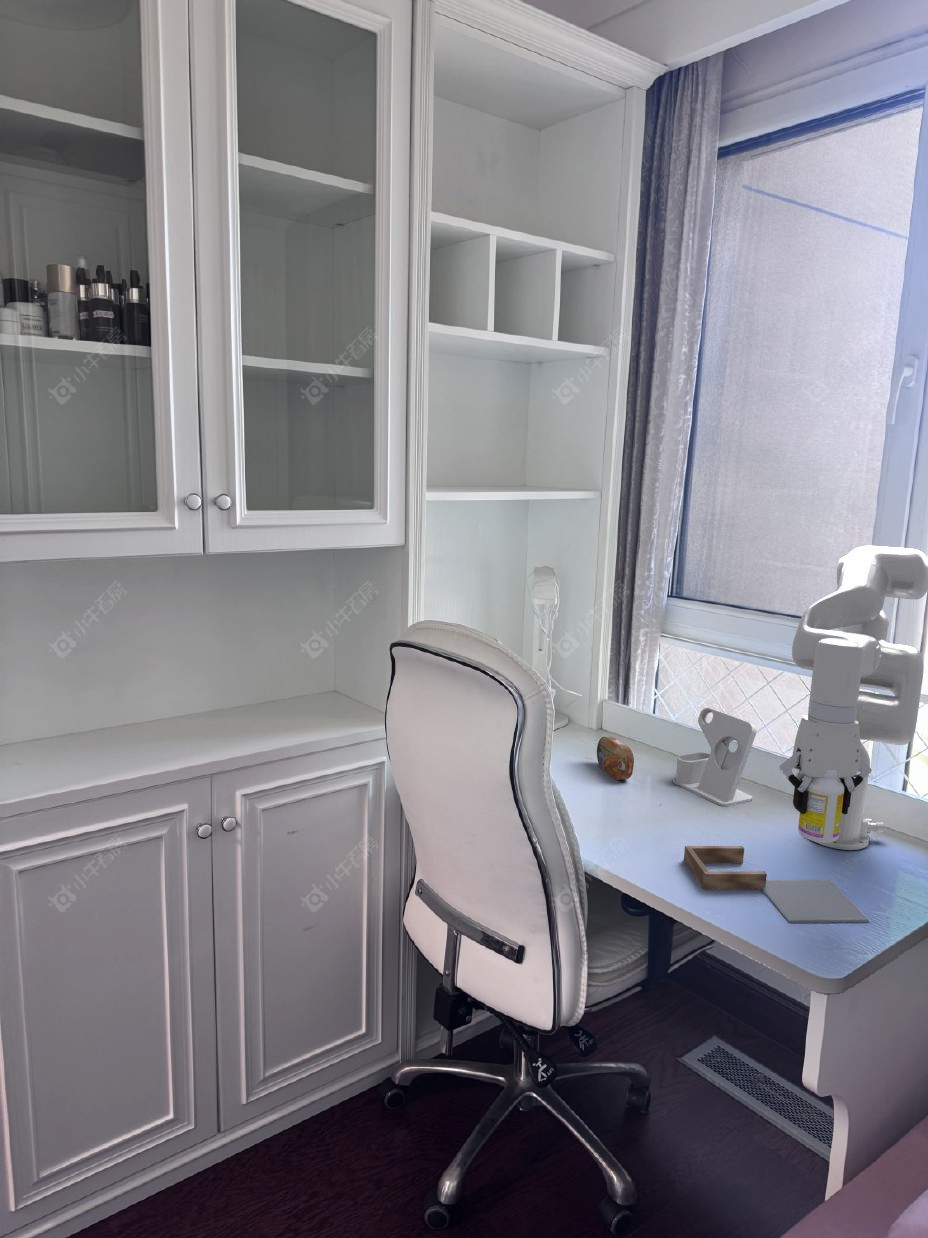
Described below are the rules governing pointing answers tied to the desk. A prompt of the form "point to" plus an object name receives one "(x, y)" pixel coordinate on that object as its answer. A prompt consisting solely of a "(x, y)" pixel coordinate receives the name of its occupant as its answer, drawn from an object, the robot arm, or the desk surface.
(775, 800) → the desk surface
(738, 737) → the phone holder
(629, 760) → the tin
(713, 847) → the wooden u-shaped frame
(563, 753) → the desk surface
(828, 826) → the supplement bottle
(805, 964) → the desk surface
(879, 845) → the desk surface
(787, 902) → the mat
